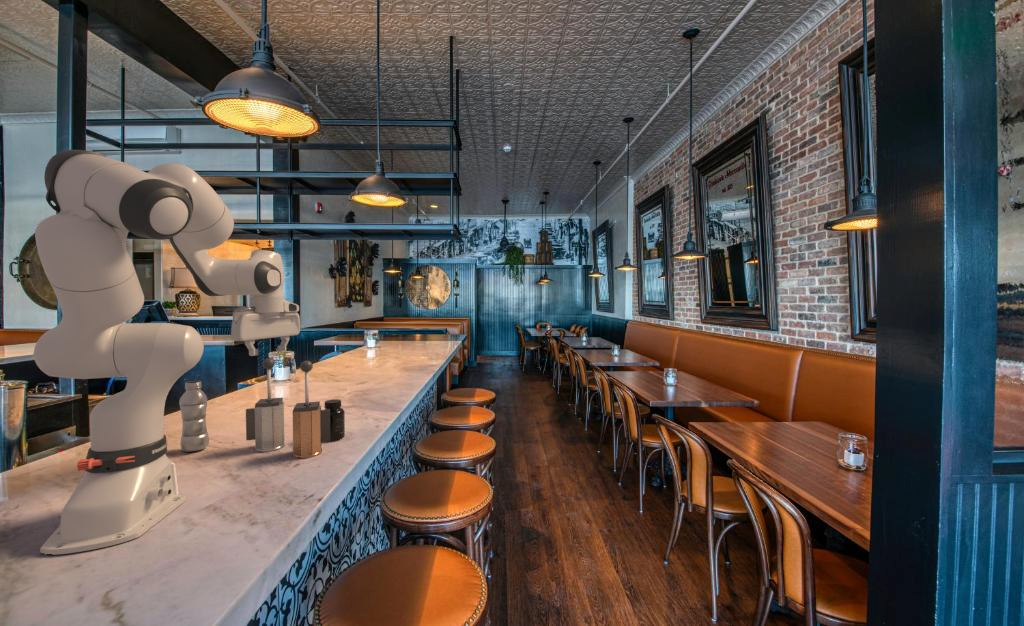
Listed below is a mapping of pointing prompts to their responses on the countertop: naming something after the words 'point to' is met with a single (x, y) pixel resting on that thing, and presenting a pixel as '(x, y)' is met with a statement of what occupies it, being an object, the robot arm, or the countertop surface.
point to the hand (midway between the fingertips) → (268, 353)
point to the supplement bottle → (336, 419)
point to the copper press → (310, 429)
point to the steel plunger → (268, 374)
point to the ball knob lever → (306, 378)
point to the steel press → (266, 424)
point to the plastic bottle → (193, 418)
